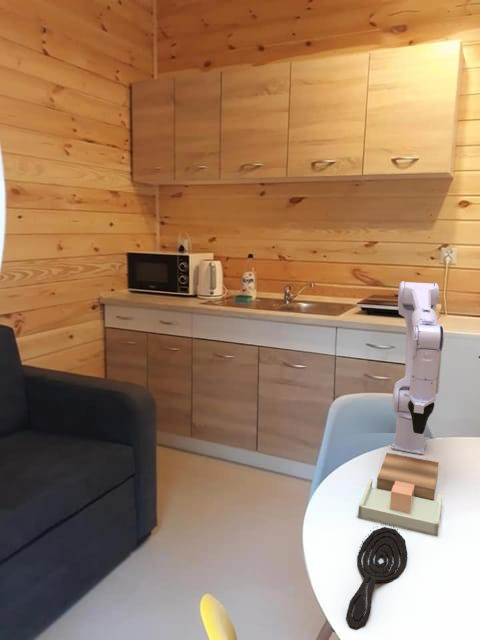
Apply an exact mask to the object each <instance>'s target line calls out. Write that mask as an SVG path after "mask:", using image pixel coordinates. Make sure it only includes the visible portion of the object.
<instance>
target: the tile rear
mask: <svg viewBox="0 0 480 640" xmlns="http://www.w3.org/2000/svg"><path fill="white" fill-rule="evenodd" d="M394 485H396V486H401V487H406V488H411V489H413V495H412V502H413V497H414V486H415V485H414V484H409V483H405V482H400V481H395V484H394Z"/></svg>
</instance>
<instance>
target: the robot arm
mask: <svg viewBox="0 0 480 640" xmlns="http://www.w3.org/2000/svg"><path fill="white" fill-rule="evenodd" d="M439 286H440V285H438V283H437V282H433V283H432V282H430V283H429V282H413V281H404V280H402V281H400V283H399V285H398V293H397V303H398V304H397V310H398V315H400V316H401V317H404V321H405V325H406V328H405V329H406V330H405V331H406V332H405V334H406V337H405V338H406V339H405V360H404V361H405V362H404V363H405V364H404V365H405V367H404V369H405V370H404V377H402V378H400V379H399V380H398V381H396V382H395V383H394V385H393V393H392V403H391V404H392V410H393V412H394V413H396V424H395V435H394V438H393V441H392V444H391V449H392V450H396V451H401V452H405V453H411V454H417V455H424V453H425V452H424V451H425V449H426V448H425V447H426V443H427V439H425V429H426V426H427V422H428V419H429V417H430V416H431V415H432V414H433V412H434V408H435V402H436V400H437V396H436V392H437V381H438V372H439V362H440V352H442V351H443V347H444V343H445V331H444V325H442V324H439V320H438V316H437V312H436V309H437V305H438V302H439V296H440V295H439V294H440V293H439V292H440V287H439Z"/></svg>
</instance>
